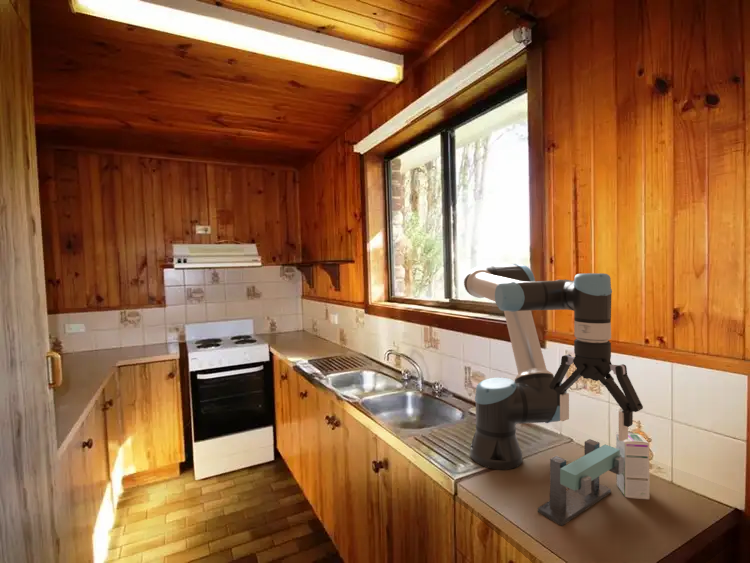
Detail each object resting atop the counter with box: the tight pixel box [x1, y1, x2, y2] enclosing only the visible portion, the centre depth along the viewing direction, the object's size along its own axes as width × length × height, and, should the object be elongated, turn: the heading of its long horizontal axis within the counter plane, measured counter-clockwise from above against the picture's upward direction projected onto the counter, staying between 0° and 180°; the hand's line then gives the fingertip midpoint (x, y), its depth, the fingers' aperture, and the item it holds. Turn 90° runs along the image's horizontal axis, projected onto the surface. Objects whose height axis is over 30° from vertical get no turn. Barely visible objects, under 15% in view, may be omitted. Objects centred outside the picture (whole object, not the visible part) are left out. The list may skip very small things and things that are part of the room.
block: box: [560, 444, 620, 491], centre depth 93 cm, size 4×20×4 cm, turn 123°
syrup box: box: [615, 431, 651, 500], centre depth 99 cm, size 6×6×14 cm
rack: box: [537, 438, 624, 527], centre depth 94 cm, size 10×22×13 cm, turn 123°
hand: (592, 429), depth 92 cm, fingers open, 13 cm apart
